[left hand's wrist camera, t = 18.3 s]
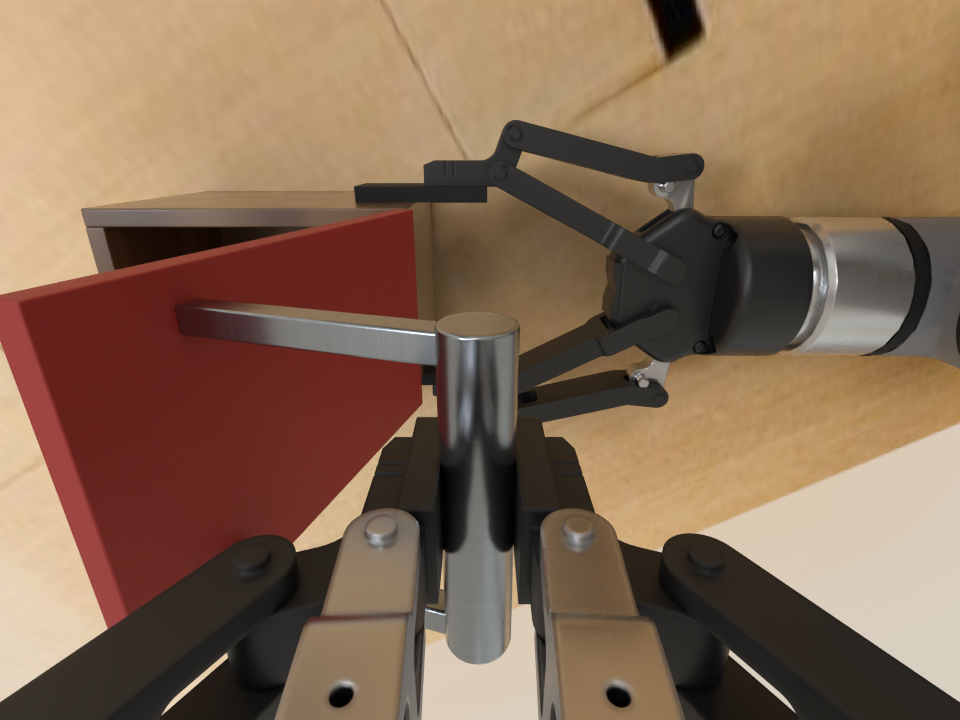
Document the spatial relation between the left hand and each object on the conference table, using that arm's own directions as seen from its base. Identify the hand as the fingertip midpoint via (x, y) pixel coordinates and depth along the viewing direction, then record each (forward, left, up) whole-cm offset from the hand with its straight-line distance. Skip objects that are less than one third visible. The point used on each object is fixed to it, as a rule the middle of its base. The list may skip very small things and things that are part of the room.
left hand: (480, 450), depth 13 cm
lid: (+4, -5, -5) cm, 7 cm away
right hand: (+4, -5, -17) cm, 18 cm away
